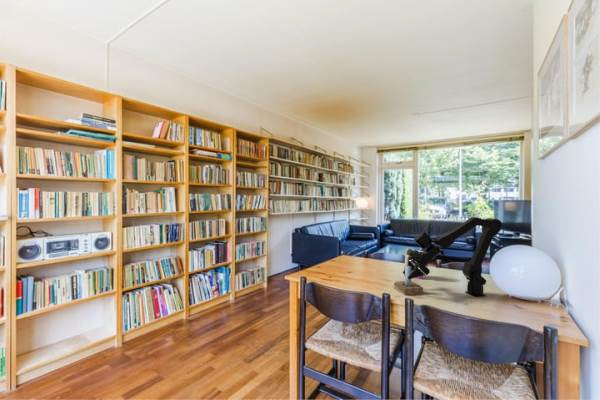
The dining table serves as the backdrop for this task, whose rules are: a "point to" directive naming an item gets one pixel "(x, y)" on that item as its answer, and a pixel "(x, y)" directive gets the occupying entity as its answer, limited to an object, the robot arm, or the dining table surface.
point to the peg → (407, 273)
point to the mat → (404, 281)
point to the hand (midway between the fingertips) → (405, 276)
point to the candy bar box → (407, 263)
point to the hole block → (408, 288)
